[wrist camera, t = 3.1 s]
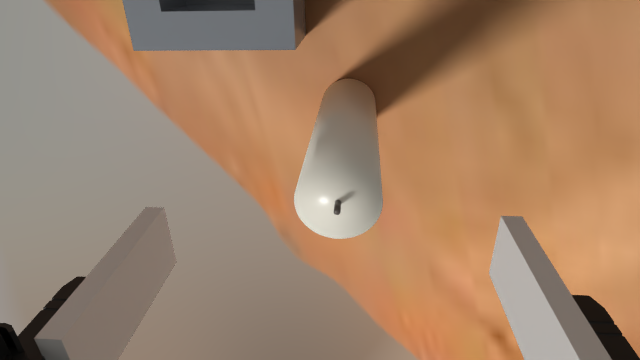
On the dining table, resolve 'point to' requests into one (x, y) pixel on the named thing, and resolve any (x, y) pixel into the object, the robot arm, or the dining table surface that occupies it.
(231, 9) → the holder
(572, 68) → the dining table surface
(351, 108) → the candle
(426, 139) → the dining table surface
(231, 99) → the dining table surface
